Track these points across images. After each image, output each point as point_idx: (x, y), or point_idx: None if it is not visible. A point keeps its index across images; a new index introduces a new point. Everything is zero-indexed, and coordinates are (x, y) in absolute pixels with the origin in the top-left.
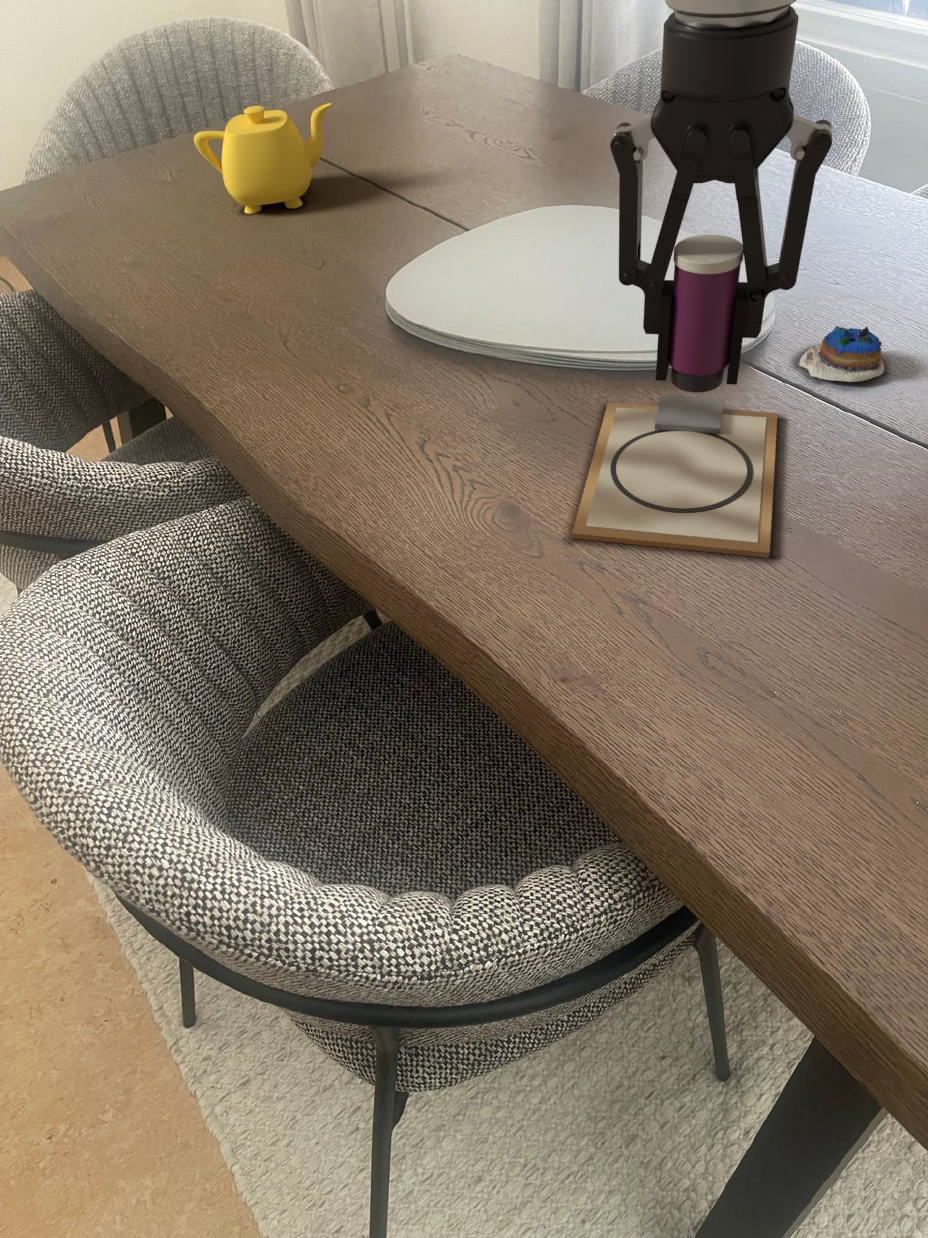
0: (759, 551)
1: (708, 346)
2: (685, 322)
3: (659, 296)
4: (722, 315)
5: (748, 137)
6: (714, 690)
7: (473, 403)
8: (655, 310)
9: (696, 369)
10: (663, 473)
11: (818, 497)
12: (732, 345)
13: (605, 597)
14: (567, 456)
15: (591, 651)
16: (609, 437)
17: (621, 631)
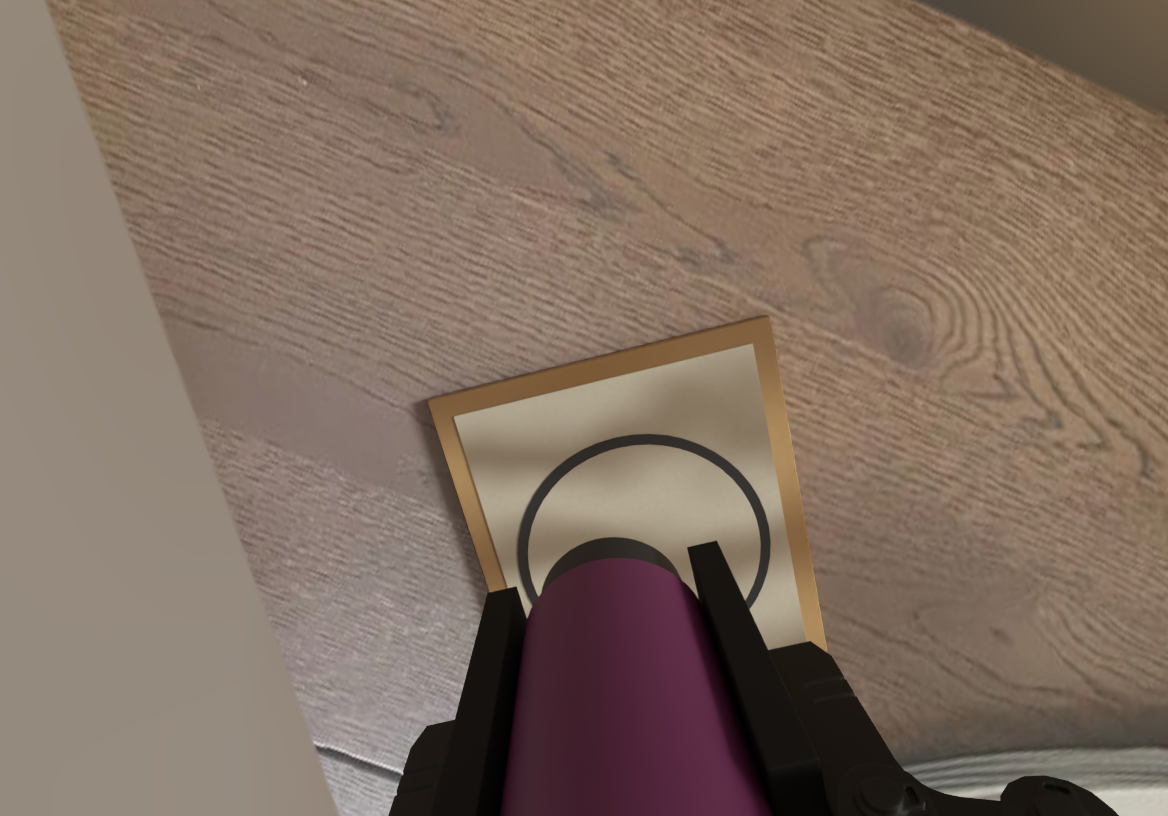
0: (443, 397)
1: (565, 633)
2: (666, 679)
3: (827, 776)
4: (524, 746)
5: None
6: (394, 40)
7: (1085, 610)
8: (815, 719)
9: (595, 570)
10: (667, 529)
11: (410, 572)
12: (496, 671)
13: (653, 188)
14: (853, 527)
15: (625, 38)
16: (796, 592)
17: (594, 113)
